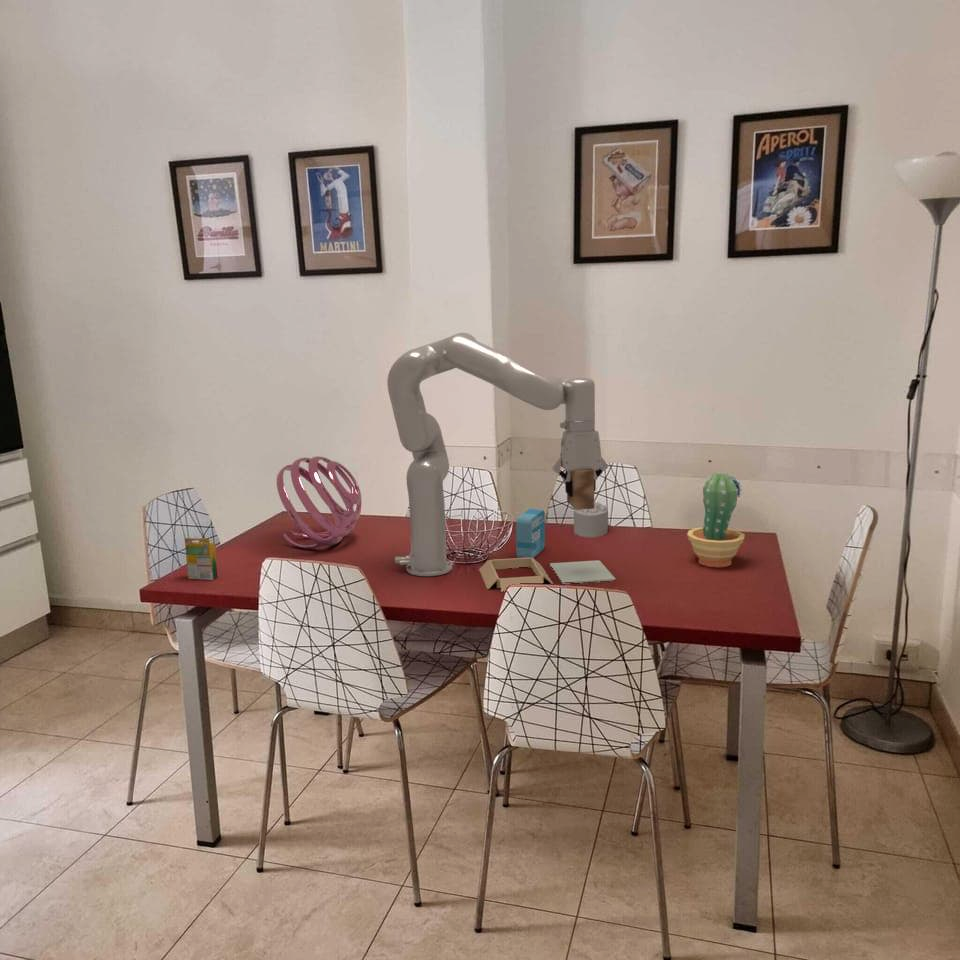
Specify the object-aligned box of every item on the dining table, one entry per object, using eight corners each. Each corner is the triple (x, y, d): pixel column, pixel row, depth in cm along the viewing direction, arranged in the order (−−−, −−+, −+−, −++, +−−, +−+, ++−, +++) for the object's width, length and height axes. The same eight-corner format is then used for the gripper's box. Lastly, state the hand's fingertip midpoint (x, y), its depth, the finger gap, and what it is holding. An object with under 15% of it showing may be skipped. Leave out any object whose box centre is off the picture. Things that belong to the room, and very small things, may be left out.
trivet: (562, 584, 228) (562, 582, 228) (549, 565, 243) (549, 563, 243) (615, 581, 229) (615, 578, 229) (599, 562, 245) (599, 560, 245)
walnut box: (574, 509, 227) (574, 471, 225) (567, 501, 236) (566, 464, 234) (594, 508, 228) (594, 470, 226) (586, 500, 237) (585, 463, 234)
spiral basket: (233, 486, 259) (303, 435, 252) (283, 488, 285) (348, 442, 279) (277, 569, 253) (350, 519, 247) (323, 563, 280) (391, 518, 273)
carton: (488, 593, 223) (488, 583, 222) (477, 567, 243) (477, 557, 243) (556, 588, 225) (556, 578, 224) (539, 563, 245) (539, 553, 245)
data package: (531, 560, 248) (530, 519, 245) (516, 558, 250) (515, 517, 247) (545, 548, 259) (544, 508, 256) (530, 546, 261) (530, 507, 258)
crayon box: (218, 576, 240) (214, 535, 237) (213, 580, 237) (209, 539, 234) (193, 575, 241) (189, 535, 239) (188, 579, 238) (183, 538, 236)
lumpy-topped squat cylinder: (608, 526, 280) (609, 500, 278) (605, 538, 268) (605, 510, 266) (576, 525, 282) (576, 499, 280) (571, 536, 270) (571, 509, 268)
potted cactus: (749, 571, 235) (754, 479, 229) (691, 571, 236) (694, 479, 230) (737, 553, 250) (741, 467, 244) (681, 553, 251) (684, 467, 246)
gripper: (550, 430, 223) (551, 500, 227) (616, 426, 225) (616, 496, 229) (544, 425, 230) (545, 493, 234) (608, 422, 232) (608, 489, 236)
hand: (580, 494), depth 231 cm, fingers closed on walnut box, 5 cm apart
